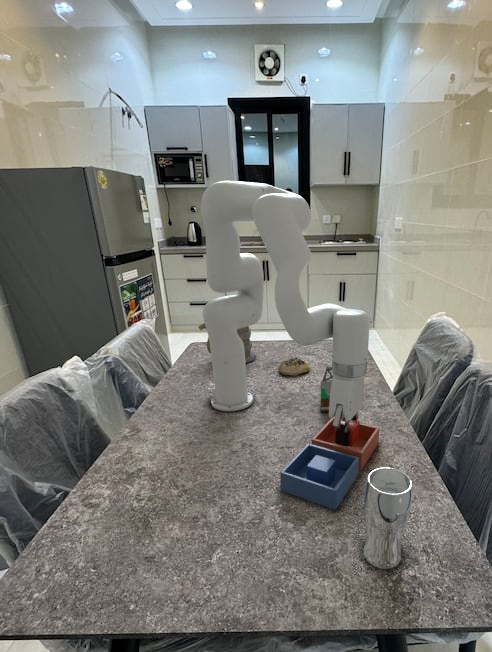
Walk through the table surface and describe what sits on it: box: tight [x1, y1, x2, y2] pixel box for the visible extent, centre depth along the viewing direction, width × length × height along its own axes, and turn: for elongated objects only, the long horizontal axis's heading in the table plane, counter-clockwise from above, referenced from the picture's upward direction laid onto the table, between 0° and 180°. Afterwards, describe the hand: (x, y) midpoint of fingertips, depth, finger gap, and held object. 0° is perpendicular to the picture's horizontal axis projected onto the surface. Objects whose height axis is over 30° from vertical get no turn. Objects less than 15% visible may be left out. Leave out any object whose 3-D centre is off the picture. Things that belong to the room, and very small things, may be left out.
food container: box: [320, 366, 333, 413], centre depth 111 cm, size 12×6×10 cm, turn 168°
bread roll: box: [278, 356, 310, 376], centre depth 138 cm, size 11×11×5 cm
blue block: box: [307, 455, 335, 487], centre depth 79 cm, size 4×4×4 cm
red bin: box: [311, 416, 380, 471], centre depth 91 cm, size 12×12×4 cm
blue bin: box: [279, 443, 359, 511], centre depth 80 cm, size 12×12×4 cm
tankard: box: [198, 322, 255, 364], centre depth 148 cm, size 20×13×15 cm, turn 94°
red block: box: [334, 420, 361, 447], centre depth 90 cm, size 4×4×4 cm
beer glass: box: [363, 467, 413, 570], centre depth 60 cm, size 7×7×15 cm
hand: (346, 438), depth 91 cm, fingers closed on red block, 4 cm apart
